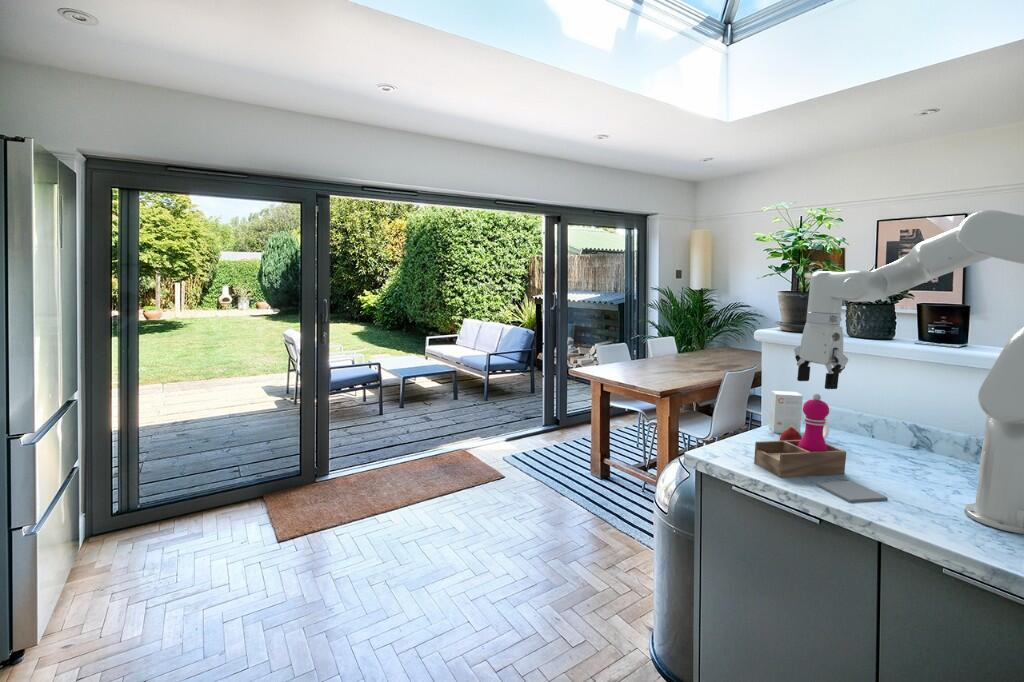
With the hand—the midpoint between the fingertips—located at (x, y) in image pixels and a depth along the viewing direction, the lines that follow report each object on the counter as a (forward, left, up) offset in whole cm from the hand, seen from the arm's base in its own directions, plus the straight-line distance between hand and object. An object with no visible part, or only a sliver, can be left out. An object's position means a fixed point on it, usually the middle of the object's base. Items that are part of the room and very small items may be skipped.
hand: (816, 384), depth 136 cm
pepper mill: (0, 0, -23) cm, 23 cm away
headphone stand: (+16, -14, -23) cm, 31 cm away
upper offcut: (0, +9, -21) cm, 23 cm away
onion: (+12, -3, -23) cm, 26 cm away
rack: (0, +4, -22) cm, 23 cm away
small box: (+32, -17, -23) cm, 43 cm away
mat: (-16, +3, -22) cm, 28 cm away
